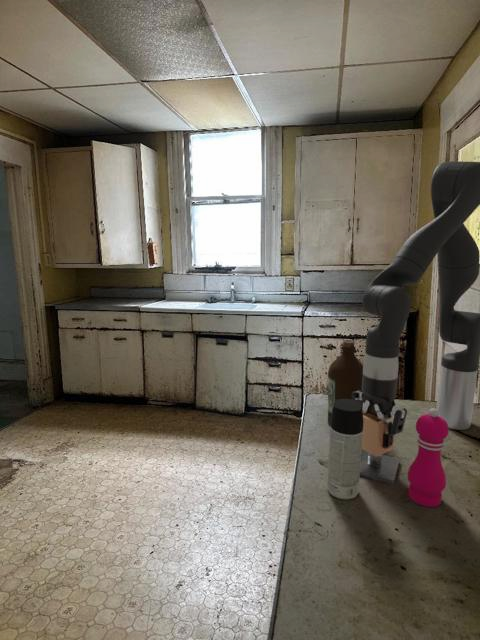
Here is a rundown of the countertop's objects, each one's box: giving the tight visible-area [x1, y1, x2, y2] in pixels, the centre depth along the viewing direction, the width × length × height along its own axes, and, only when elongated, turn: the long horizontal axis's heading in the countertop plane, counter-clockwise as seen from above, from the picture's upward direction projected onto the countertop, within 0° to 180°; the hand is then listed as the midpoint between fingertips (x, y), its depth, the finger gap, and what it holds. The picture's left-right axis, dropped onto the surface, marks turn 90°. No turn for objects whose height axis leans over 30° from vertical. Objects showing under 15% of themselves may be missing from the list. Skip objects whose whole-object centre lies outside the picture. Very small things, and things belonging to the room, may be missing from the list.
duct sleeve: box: [362, 414, 395, 457], centre depth 93 cm, size 6×6×8 cm
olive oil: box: [327, 339, 364, 426], centre depth 114 cm, size 11×11×25 cm
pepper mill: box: [407, 407, 450, 508], centre depth 81 cm, size 7×7×20 cm
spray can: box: [326, 399, 364, 500], centre depth 83 cm, size 7×7×20 cm
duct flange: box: [360, 449, 400, 485], centre depth 94 cm, size 10×10×7 cm
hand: (374, 441), depth 93 cm, fingers closed on duct sleeve, 6 cm apart
